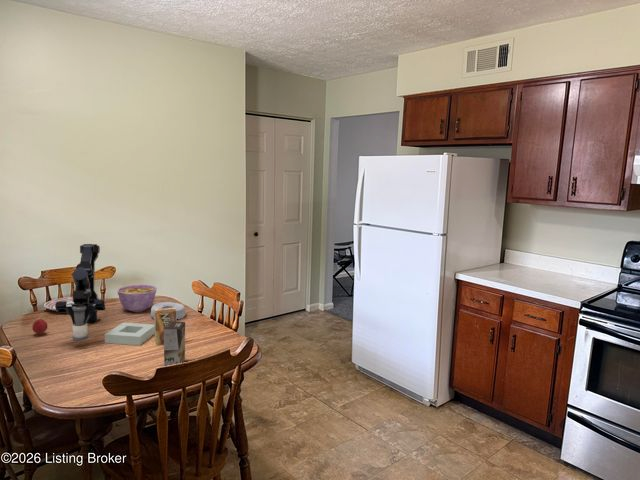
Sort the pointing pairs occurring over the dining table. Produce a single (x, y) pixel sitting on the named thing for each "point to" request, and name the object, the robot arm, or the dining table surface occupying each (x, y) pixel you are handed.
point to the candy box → (163, 322)
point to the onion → (39, 326)
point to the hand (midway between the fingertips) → (79, 323)
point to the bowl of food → (137, 297)
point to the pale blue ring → (179, 308)
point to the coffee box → (174, 343)
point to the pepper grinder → (79, 323)
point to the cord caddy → (130, 334)
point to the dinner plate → (52, 303)
